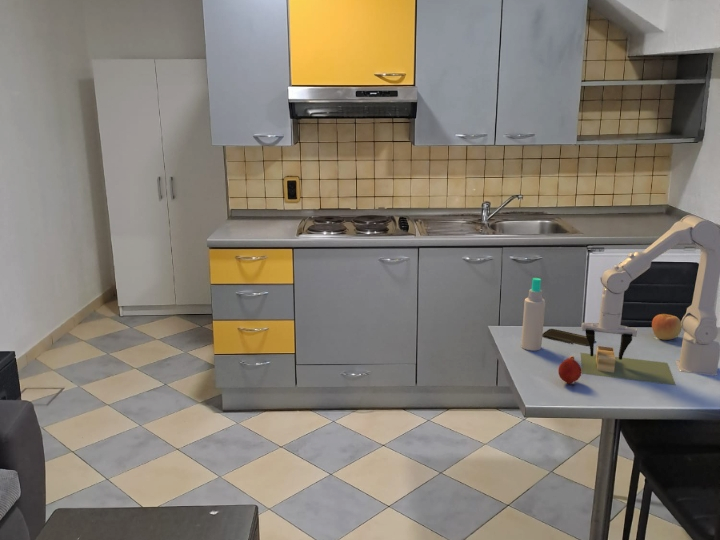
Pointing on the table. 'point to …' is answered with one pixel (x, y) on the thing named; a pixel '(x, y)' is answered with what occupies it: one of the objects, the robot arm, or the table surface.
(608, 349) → the wooden cubby box
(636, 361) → the rubber mat
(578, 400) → the table surface
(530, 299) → the spray bottle
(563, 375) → the onion
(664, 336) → the apple
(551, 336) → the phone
